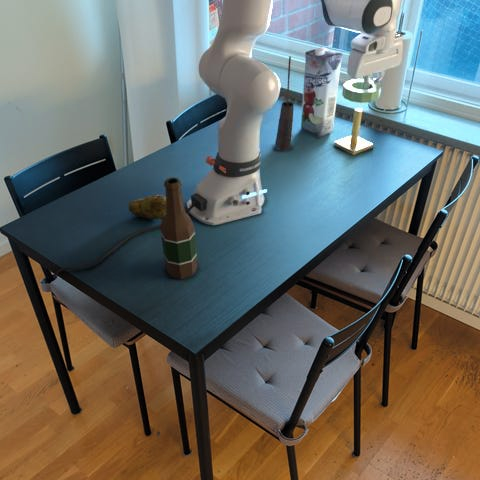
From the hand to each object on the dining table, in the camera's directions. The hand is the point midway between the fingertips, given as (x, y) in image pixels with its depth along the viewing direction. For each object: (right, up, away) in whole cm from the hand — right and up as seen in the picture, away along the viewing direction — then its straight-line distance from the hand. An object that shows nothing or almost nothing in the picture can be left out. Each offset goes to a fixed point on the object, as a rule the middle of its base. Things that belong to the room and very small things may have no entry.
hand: (371, 86), depth 164 cm
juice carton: (-14, -7, +20) cm, 25 cm away
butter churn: (-27, -17, +10) cm, 33 cm away
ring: (-4, -3, -1) cm, 5 cm away
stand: (-3, -15, +11) cm, 19 cm away
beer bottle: (-55, -61, -36) cm, 89 cm away
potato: (-65, -45, -19) cm, 82 cm away
